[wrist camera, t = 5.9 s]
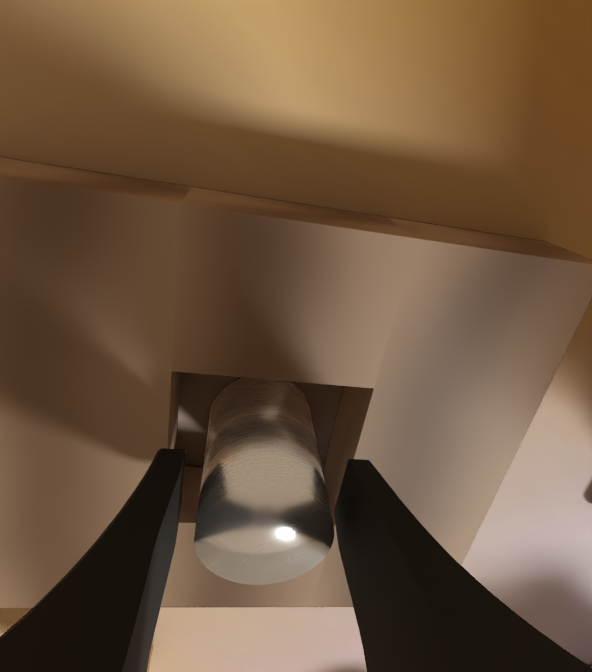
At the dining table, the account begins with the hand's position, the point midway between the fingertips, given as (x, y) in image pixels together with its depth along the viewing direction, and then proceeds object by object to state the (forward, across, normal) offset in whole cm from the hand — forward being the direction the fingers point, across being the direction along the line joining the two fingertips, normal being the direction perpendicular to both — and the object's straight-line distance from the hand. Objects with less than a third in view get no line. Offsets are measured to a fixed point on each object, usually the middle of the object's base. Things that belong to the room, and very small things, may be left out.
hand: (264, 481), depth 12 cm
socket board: (+3, 0, 0) cm, 3 cm away
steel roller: (+3, 0, 0) cm, 4 cm away
